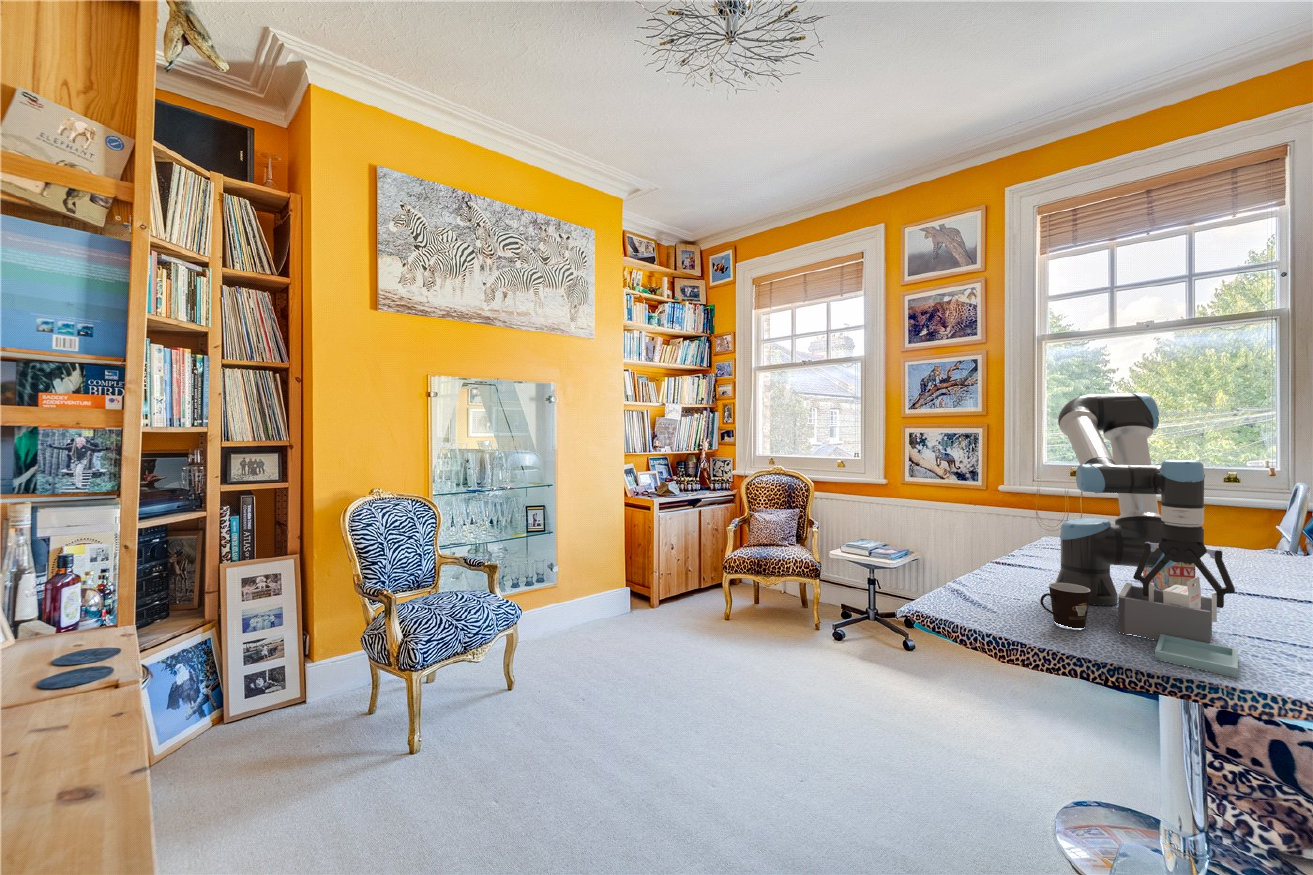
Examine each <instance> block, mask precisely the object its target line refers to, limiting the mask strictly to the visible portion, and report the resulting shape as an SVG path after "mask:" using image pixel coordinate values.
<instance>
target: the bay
mask: <svg viewBox="0 0 1313 875" xmlns="http://www.w3.org/2000/svg"><path fill="white" fill-rule="evenodd" d="M1117 604H1118V622H1117V623H1118V626H1117V628H1118V632H1120V633H1124V634H1132V635H1137V636H1141V637H1146V638H1149V639H1154V640H1159V638H1160V635H1161V634H1163V635H1168V636H1174V637H1179V638H1184V639H1189V640H1194V641H1200V642H1205V643H1210V644H1211V636H1213V622H1212V596H1211V597H1209V596H1203V595H1201V609H1195V608H1189V607H1183V606H1177V605H1170V604H1164V603H1163V590H1160V589H1158V588H1154V602H1152V601H1149V597H1148V596H1144V595H1143V586H1138V585H1137V586H1136V585H1133V583H1131V582H1126V583H1125V584H1124V586H1123V587H1122V588H1121V590H1120V592H1119V593H1118V603H1117ZM1124 634H1123V635H1124ZM1149 639H1148V640H1149ZM1154 640H1153V641H1154Z"/></svg>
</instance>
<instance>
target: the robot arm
mask: <svg viewBox="0 0 1313 875" xmlns="http://www.w3.org/2000/svg"><path fill="white" fill-rule="evenodd" d="M1159 411H1160V410H1159V408H1158V405H1157V403H1156V401H1155V399H1154V398H1153V397H1152V395H1149V394H1148V393H1144V392H1133V391H1132V392H1130V391H1129V392H1125V393H1119V392H1118V393H1098V394H1097V393H1096V394H1095V393H1089V394H1083V395H1079V396H1077V397H1075V398H1073V399H1071V400H1070V401H1069V402H1067V403H1066V404H1065V405H1064V406H1063V407H1062V408H1061V411H1059V414H1058V417H1057V419H1058V420H1057V423H1058V424H1057V425H1058V427H1059V429H1060V430H1061V432H1062V433H1063V434H1064V435H1065V436H1066V437H1067V438H1068V441H1069V443H1070V444H1071V447H1072V449H1073V451H1074V454H1075V456H1076V458H1077V461H1078V463H1079V465H1078V466H1077V468H1076V470H1075V471H1076V472H1075V481H1076V486H1077V489H1078V490H1079V491H1080V492H1083V493H1094V494H1117V497H1118V506H1119V513H1120V515H1119V516H1117V518H1116V519H1115V520H1114V524H1111V521H1110V520H1108V519H1106V518H1095V517H1094V518H1093V517H1092V518H1091V517H1090V518H1089V517H1088V518H1087V517H1086V518H1076V519H1069V520H1066V521H1064V522H1063V523H1062V524H1061V526H1060V533H1059V534H1060V535H1059V539H1060V570H1059V572H1058V575H1057V577H1056V580H1055V582H1054V583H1069V584H1075V585H1080V586H1084V587H1087V588H1089V589H1090V590H1091V591H1090V598H1089V604H1095V605H1094V606H1102V605H1106V606H1113V604H1114V605H1116V604H1118V595H1119V593H1118V592H1117V589H1116V587H1115V585H1114V582H1113V579H1112V577H1111V566H1120V567H1135V568H1136V570H1135V572H1134V574H1133V579H1134V580H1135V581H1139V582H1140V583H1142V587H1143V595H1144V596H1148V597H1149V601H1152V602H1154V589H1155V585H1154V583H1150V581H1151V580H1152V579H1153V578H1154V577H1155V576H1156V575H1157V574H1158V573H1159V571H1160V570H1161V569H1162V568H1170V567H1172V566H1173V565H1174V564H1175V563H1176V562H1183V563H1186V564H1192V563H1194V564H1195V568H1197V570H1198V571H1199V572H1200V573H1201V575H1202V576H1203V577H1204V578H1205V579H1206V581H1207V582H1208V584H1209V585H1210V586H1211V588H1213V590H1214V591H1213V590H1212V592H1211V595H1212V596H1211V598H1212V623H1213V622H1214V623H1217V620H1218V613H1217V612H1218V608H1219V609H1224V606H1225V595H1227V594H1235V592H1236V588H1235V585H1234V583H1233V580H1232V579H1231V577H1230V574H1229V571H1228V570H1227V567H1226V565H1225V562H1224V561H1223V550H1222V549H1221V548H1217V549H1214V548H1207V547H1206V545H1205V528H1204V527H1203V526H1202V525H1204V524H1205V505H1204V504H1205V478H1206V474H1205V470H1204V469H1205V468H1204V463H1203V462H1201V461H1199V460H1195V459H1194V460H1190V459H1166V460H1163V461H1162V463H1161V464H1159V463H1158V464H1152V460H1151V454H1150V446H1149V441H1148V438H1150V437H1151V436H1152V435H1153V433H1154V431H1155V430H1156V429H1157V428H1158V426H1159V424H1160V418H1159V417H1160V412H1159ZM1100 431H1101V432H1102V431H1103V432H1102V433H1103V437H1104V438H1103V437H1102V435H1101V432H1100ZM1104 439H1105V440H1107V441H1109V442H1110V444H1111V451H1112V452H1110V450H1109V448H1108V446H1107V444H1106V442H1105V440H1104ZM1157 495H1161V496H1160V498H1161V499H1160V500H1161V502H1160V503H1161V504H1160V508H1161V509H1160V510H1161V511H1160V510H1159V504H1158V500H1157V499H1158V498H1157ZM1160 513H1161V514H1160ZM1206 554H1208V555H1209V558H1210V559H1213V560H1214V562H1215V565H1216V567H1217V569H1218V572H1219V575H1220V577H1221V579H1222V582H1223V583H1224V586H1222V585H1221V584H1220V582H1218V580H1217V579H1216V578H1215V576H1214V575H1213V573H1212V572H1211V571H1210V570H1209V569H1208V567H1207V566H1206V565H1205V563H1204V562H1203V560H1202V559H1201V558H1202V557H1203V556H1204V555H1206ZM1145 567H1147V568H1151V569H1152V568H1153V569H1152V570H1151V571H1150V572H1149V573H1148V574H1147V575H1146V577H1144V576H1143V570H1144V568H1145Z"/></svg>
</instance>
